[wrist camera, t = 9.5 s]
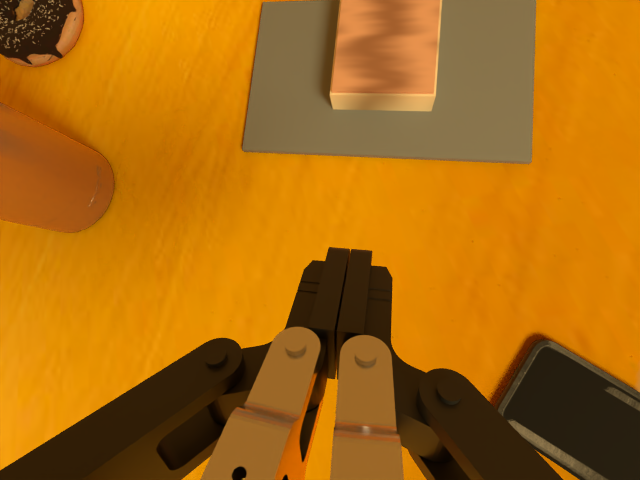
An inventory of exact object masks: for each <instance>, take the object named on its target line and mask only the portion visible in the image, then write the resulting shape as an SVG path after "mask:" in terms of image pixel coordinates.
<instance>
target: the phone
mask: <svg viewBox="0 0 640 480" xmlns="http://www.w3.org/2000/svg"><path fill="white" fill-rule="evenodd" d="M494 408H495V409H496V410H497V411H498V412H499V413H500V414H501V415H502V416H503V417H504V418H505V419H506V420H507V421H508V422H509V423H510V424H511V425H512V426H513V427H514V429H515V430H516V431H517V432H518V433H519V434H520V435H521V436H522V437H523V438H524V439H525V440H526V441H527V442H528V443H529V444H530V445H531V446H532V447H533V448H534V449H535V450H536V451H538V452H539V453H541V454H542V455H544V456H545V457H547V458H548V459H550V460H551V461H553V462H554V463H556V464H557V465H559V466H560V467H562V468H563V469H565V470H566V471H568V472H569V473H571V474H572V475H574V476H575V477H577V478H578V479H580V480H640V393H639V392H638V391H636V390H634V389H633V388H631V387H629V386H628V385H626V384H624V383H623V382H621V381H619V380H617V379H616V378H614V377H612V376H611V375H609V374H607V373H606V372H604V371H602V370H601V369H599V368H597V367H596V366H594V365H592V364H591V363H589V362H587V361H585V360H584V359H582V358H580V357H579V356H577V355H575V354H574V353H572V352H570V351H569V350H567V349H565V348H564V347H562V346H560V345H558V344H557V343H555V342H552V341H549V340H543V339H541V340H537V341H535V342H533V343H532V344H531V346H530V347H529V349H528V350H527V352H526V354H525V355H524V357H523V359H522V360H521V362H520V364H519V366H518V367H517V369H516V371H515V372H514V374H513V376H512V377H511V379H510V381H509V382H508V384H507V386H506V387H505V389H504V391H503V393H502V394H501V396H500V398H499V399H498V401H497V403H496V404H495V407H494Z"/></svg>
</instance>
